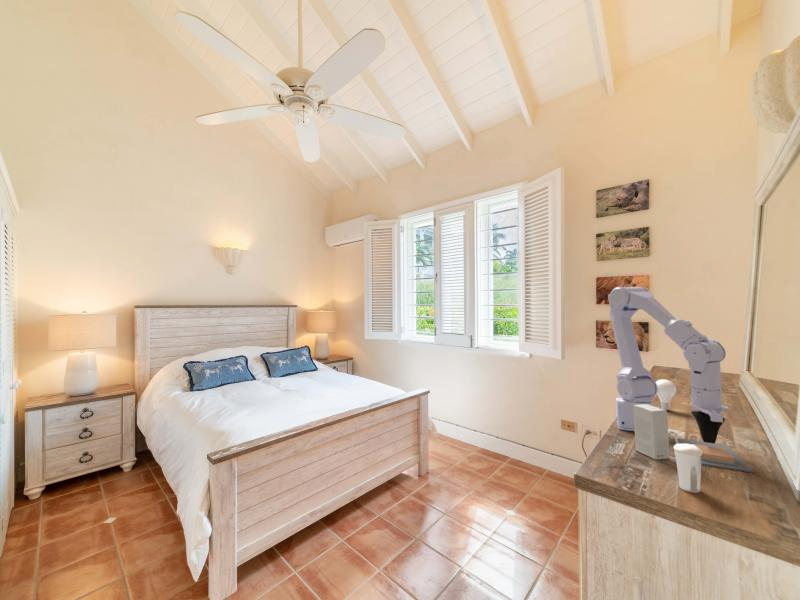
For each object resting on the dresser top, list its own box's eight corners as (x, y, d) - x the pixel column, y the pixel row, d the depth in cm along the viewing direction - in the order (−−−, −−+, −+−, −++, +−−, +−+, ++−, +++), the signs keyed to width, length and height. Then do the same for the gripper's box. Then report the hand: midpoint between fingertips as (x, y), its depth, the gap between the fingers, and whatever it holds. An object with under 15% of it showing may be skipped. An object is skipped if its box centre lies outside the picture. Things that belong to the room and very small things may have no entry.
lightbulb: (650, 408, 121) (648, 378, 122) (662, 406, 123) (661, 377, 124) (668, 413, 115) (667, 382, 116) (681, 411, 117) (680, 380, 118)
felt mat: (690, 463, 80) (690, 461, 80) (674, 439, 94) (674, 437, 94) (753, 472, 75) (753, 471, 75) (726, 446, 89) (726, 444, 89)
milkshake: (686, 480, 72) (684, 434, 72) (710, 494, 67) (708, 444, 67) (666, 481, 72) (664, 435, 72) (688, 495, 67) (686, 445, 67)
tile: (693, 450, 86) (701, 459, 81) (693, 444, 86) (700, 453, 81) (725, 454, 83) (734, 464, 78) (724, 448, 83) (734, 457, 78)
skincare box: (670, 458, 82) (668, 410, 83) (655, 460, 82) (653, 411, 82) (648, 448, 88) (646, 403, 89) (634, 450, 88) (632, 404, 88)
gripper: (739, 396, 77) (742, 456, 76) (716, 383, 89) (719, 434, 89) (699, 393, 80) (702, 450, 80) (683, 381, 93) (685, 430, 92)
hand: (708, 441), depth 84 cm, fingers closed
